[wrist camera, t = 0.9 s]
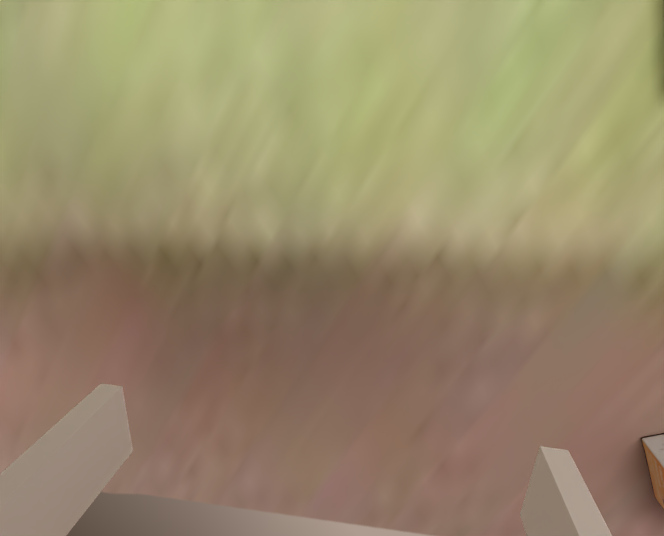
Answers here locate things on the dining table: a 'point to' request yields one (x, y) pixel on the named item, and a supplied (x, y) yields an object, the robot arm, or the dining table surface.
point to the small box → (656, 464)
